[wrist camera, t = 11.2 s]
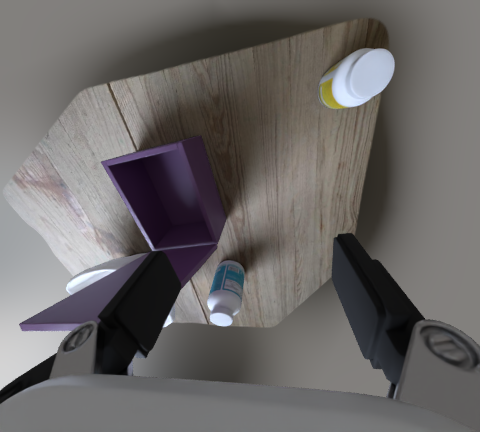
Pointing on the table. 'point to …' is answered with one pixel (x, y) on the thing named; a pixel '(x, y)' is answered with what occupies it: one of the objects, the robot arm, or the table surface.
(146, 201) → the purple box
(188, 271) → the lid
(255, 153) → the table surface
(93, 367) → the robot arm
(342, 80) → the supplement bottle
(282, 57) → the table surface
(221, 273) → the pill bottle
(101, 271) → the bowl
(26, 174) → the table surface
